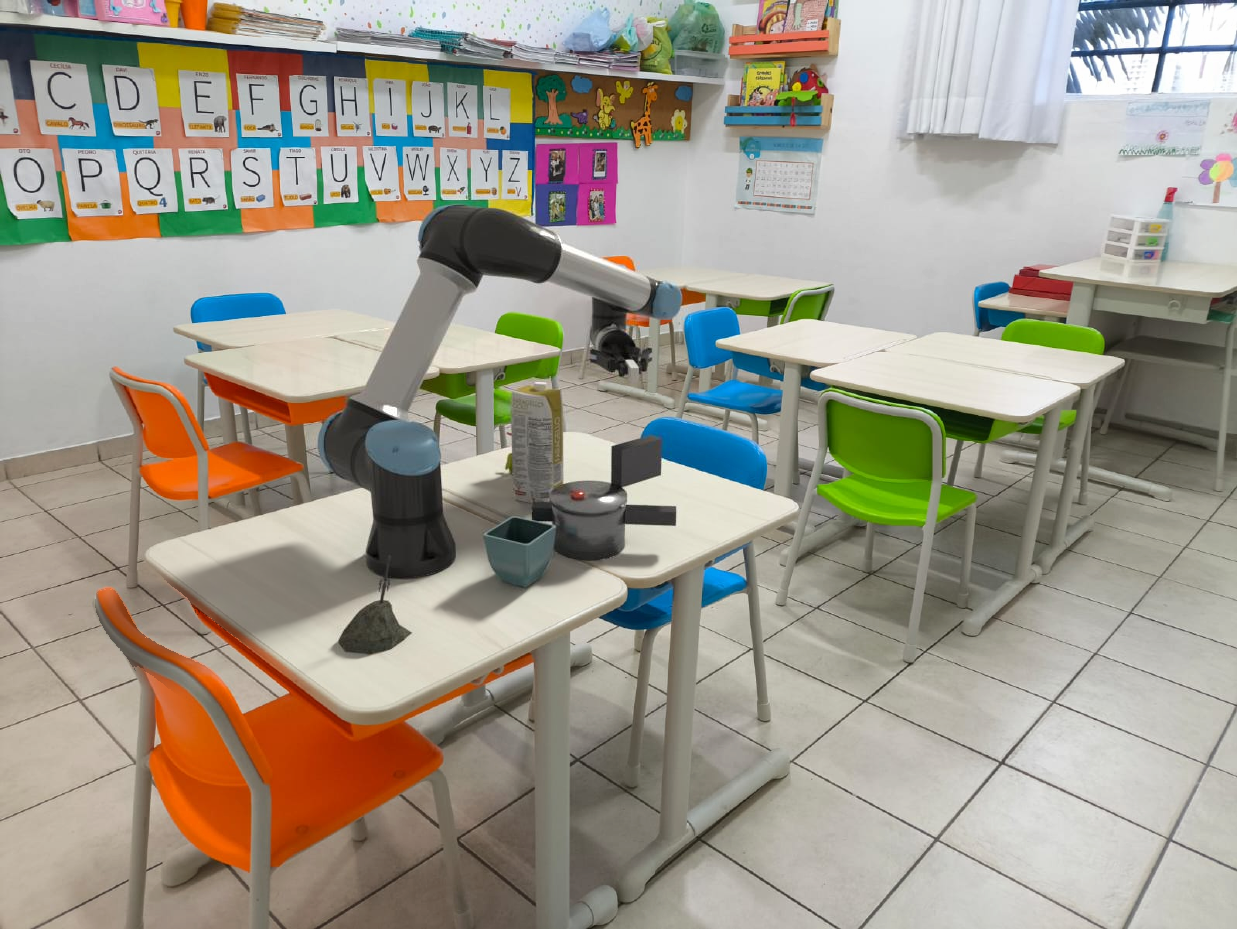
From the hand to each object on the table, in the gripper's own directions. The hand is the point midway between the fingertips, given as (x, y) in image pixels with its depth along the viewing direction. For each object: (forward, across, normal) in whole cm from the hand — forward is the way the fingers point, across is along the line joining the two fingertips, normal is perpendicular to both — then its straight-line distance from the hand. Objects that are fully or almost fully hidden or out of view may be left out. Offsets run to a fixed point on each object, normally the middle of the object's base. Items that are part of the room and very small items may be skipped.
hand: (634, 375), depth 161 cm
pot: (+13, -8, +28) cm, 32 cm away
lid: (+10, -6, +19) cm, 22 cm away
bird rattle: (-25, -20, +28) cm, 43 cm away
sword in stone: (+40, -44, +28) cm, 66 cm away
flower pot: (+24, -23, +28) cm, 43 cm away
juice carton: (-10, -18, +28) cm, 35 cm away
